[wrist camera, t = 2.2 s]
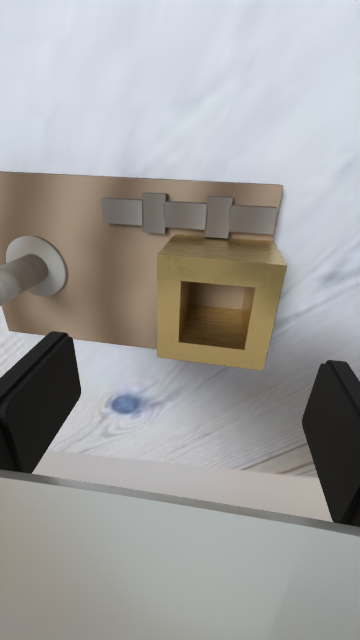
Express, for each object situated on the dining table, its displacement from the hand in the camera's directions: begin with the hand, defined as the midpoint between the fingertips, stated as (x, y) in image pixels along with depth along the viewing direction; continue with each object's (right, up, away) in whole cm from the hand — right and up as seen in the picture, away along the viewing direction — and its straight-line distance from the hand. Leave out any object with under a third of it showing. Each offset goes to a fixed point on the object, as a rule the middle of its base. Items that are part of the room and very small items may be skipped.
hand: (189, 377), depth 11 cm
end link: (+2, +5, +8) cm, 10 cm away
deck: (-5, +6, +10) cm, 12 cm away
